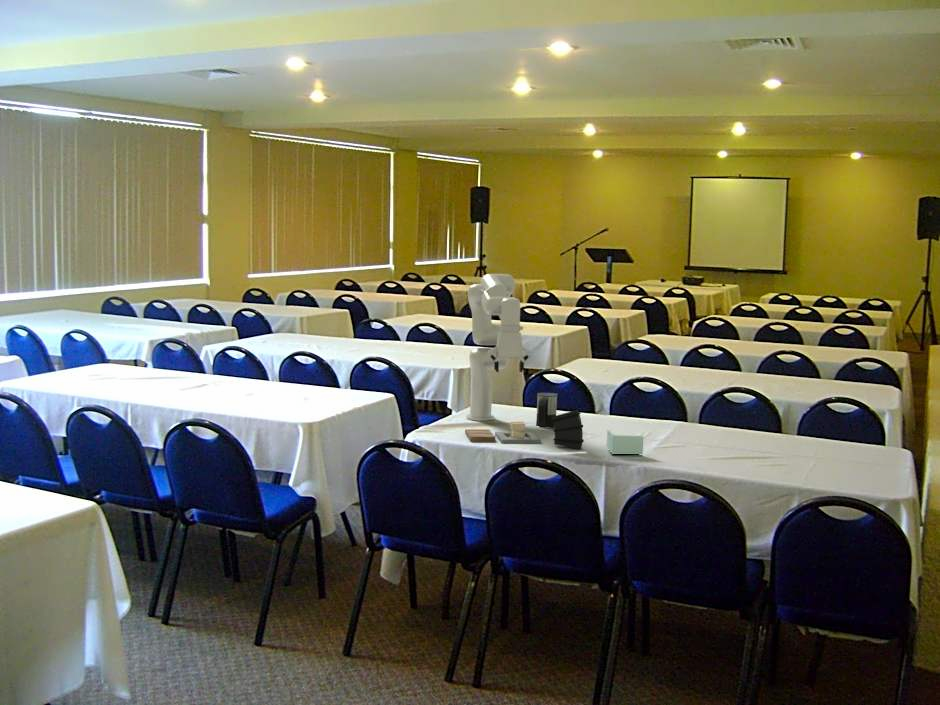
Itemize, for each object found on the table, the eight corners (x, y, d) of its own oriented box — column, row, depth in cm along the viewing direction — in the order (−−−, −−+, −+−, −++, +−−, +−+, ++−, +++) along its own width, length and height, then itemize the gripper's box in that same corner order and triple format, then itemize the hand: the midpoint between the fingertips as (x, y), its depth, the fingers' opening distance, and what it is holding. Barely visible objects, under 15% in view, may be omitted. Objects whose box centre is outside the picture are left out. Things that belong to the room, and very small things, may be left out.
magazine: (587, 447, 395) (576, 410, 395) (557, 455, 400) (546, 419, 401) (590, 445, 398) (579, 409, 399) (560, 453, 404) (549, 417, 404)
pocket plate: (494, 435, 421) (494, 431, 421) (532, 435, 423) (532, 431, 423) (501, 443, 405) (501, 439, 405) (540, 443, 407) (540, 439, 407)
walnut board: (465, 434, 422) (465, 429, 422) (488, 434, 423) (488, 429, 423) (470, 441, 406) (470, 436, 406) (495, 441, 408) (495, 436, 407)
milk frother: (535, 425, 447) (536, 391, 445) (571, 426, 447) (572, 393, 445) (536, 431, 433) (537, 396, 431) (573, 432, 432) (574, 398, 431)
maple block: (510, 438, 416) (510, 421, 415) (522, 438, 417) (522, 421, 416) (512, 440, 411) (513, 423, 410) (524, 440, 412) (525, 423, 411)
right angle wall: (642, 455, 392) (643, 436, 391) (611, 454, 391) (612, 435, 390) (636, 448, 403) (637, 430, 403) (606, 448, 403) (607, 429, 402)
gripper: (529, 328, 410) (528, 370, 412) (487, 328, 408) (486, 370, 410) (533, 330, 403) (531, 373, 404) (489, 329, 400) (488, 372, 402)
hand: (508, 371), depth 407 cm, fingers open, 9 cm apart
